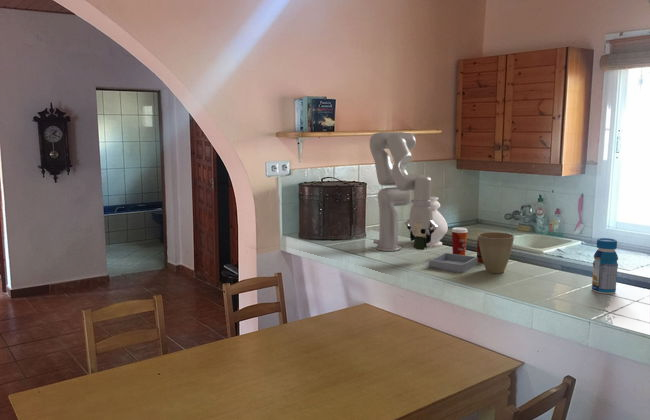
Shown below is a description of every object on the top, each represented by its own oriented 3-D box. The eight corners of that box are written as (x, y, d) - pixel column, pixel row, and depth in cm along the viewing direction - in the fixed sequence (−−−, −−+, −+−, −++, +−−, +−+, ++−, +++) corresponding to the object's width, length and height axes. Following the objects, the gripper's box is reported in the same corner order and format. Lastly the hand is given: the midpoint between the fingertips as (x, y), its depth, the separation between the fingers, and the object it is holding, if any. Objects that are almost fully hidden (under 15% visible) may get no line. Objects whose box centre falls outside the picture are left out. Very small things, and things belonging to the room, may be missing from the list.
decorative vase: (453, 243, 298) (455, 197, 294) (433, 248, 286) (434, 200, 282) (427, 239, 311) (428, 194, 307) (406, 243, 299) (407, 197, 295)
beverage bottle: (608, 296, 204) (612, 242, 202) (586, 290, 211) (590, 239, 208) (620, 292, 209) (624, 240, 206) (598, 287, 216) (601, 236, 213)
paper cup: (463, 259, 262) (463, 230, 260) (447, 257, 266) (448, 228, 264) (469, 256, 268) (470, 228, 266) (454, 254, 272) (455, 226, 270)
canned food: (475, 261, 258) (475, 238, 256) (478, 258, 265) (479, 235, 263) (491, 263, 254) (492, 240, 253) (495, 259, 261) (496, 236, 260)
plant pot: (498, 265, 250) (500, 231, 248) (519, 273, 236) (521, 237, 234) (470, 268, 246) (471, 233, 243) (489, 277, 232) (491, 239, 229)
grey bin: (428, 267, 247) (429, 260, 247) (445, 260, 261) (445, 252, 261) (462, 273, 238) (462, 265, 238) (477, 264, 252) (477, 257, 252)
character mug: (418, 252, 251) (419, 224, 249) (406, 249, 256) (407, 222, 254) (433, 249, 258) (434, 221, 255) (421, 245, 263) (423, 219, 261)
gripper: (401, 202, 255) (399, 240, 258) (435, 206, 245) (434, 245, 248) (408, 200, 261) (407, 237, 264) (443, 204, 251) (441, 242, 254)
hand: (420, 241), depth 256 cm, fingers closed on character mug, 7 cm apart
